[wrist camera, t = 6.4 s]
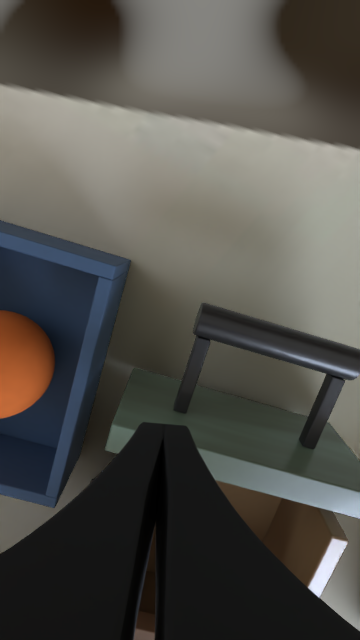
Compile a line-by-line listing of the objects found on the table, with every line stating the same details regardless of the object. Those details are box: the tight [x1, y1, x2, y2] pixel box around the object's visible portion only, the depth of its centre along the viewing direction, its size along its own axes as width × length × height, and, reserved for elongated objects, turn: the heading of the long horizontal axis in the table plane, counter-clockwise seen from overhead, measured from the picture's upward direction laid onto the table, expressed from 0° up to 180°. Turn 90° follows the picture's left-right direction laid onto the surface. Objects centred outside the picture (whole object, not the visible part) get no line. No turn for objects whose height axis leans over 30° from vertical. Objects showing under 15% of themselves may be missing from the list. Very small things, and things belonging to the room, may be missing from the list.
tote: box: [0, 220, 131, 508], centre depth 17 cm, size 12×9×4 cm
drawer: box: [105, 302, 360, 615], centre depth 16 cm, size 17×11×6 cm, turn 163°
